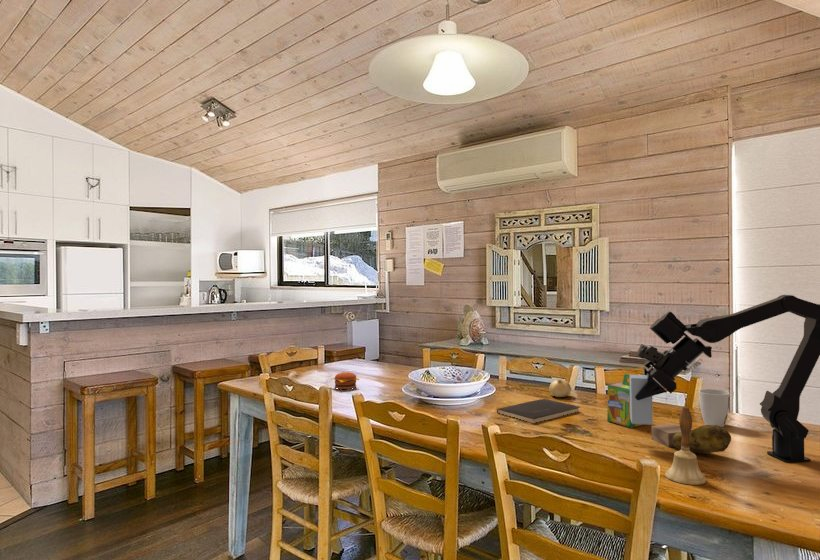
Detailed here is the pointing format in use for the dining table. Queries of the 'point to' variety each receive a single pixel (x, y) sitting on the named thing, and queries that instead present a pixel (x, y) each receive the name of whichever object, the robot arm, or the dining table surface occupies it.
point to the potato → (705, 439)
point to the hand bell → (685, 456)
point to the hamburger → (345, 380)
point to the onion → (560, 388)
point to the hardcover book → (538, 410)
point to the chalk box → (620, 403)
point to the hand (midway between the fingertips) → (635, 396)
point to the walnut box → (664, 433)
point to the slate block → (640, 402)
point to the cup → (714, 406)
